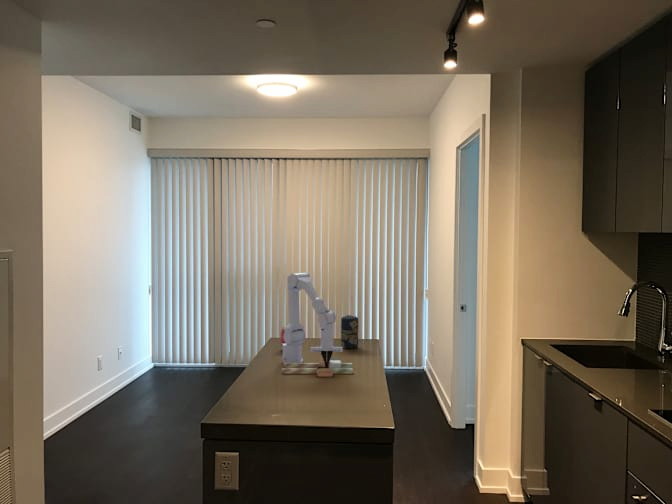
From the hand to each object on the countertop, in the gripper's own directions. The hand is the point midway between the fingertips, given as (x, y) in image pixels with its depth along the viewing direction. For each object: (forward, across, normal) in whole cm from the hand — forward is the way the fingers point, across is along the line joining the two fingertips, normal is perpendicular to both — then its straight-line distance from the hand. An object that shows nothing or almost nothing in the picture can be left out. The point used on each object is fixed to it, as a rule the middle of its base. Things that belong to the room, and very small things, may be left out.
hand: (326, 367), depth 227 cm
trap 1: (+1, -1, +8) cm, 8 cm away
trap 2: (+1, -1, -8) cm, 8 cm away
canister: (+2, +12, +46) cm, 48 cm away
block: (+1, +4, 0) cm, 4 cm away
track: (+1, -4, 0) cm, 4 cm away
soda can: (+2, -22, +40) cm, 46 cm away
